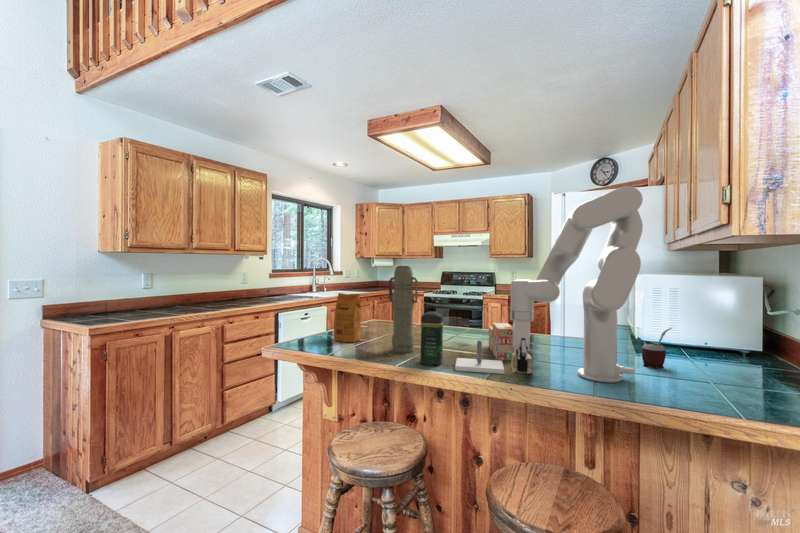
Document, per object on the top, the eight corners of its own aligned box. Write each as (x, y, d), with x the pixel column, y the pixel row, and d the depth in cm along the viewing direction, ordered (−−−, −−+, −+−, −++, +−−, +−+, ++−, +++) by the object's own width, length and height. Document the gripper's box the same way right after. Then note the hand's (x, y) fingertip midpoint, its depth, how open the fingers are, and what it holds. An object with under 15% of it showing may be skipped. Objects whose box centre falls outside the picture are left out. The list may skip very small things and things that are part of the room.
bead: (529, 368, 128) (529, 354, 128) (531, 373, 122) (531, 358, 122) (511, 367, 129) (511, 353, 129) (512, 372, 124) (512, 357, 124)
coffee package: (340, 337, 178) (341, 291, 178) (364, 339, 174) (364, 292, 174) (329, 341, 169) (330, 293, 169) (354, 343, 164) (354, 294, 164)
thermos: (389, 347, 158) (390, 265, 157) (417, 348, 156) (418, 266, 156) (386, 352, 149) (387, 265, 148) (416, 353, 148) (417, 266, 147)
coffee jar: (440, 366, 129) (441, 314, 129) (418, 365, 131) (419, 313, 131) (444, 359, 139) (444, 310, 138) (423, 358, 141) (423, 309, 140)
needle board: (502, 364, 133) (502, 338, 132) (504, 373, 122) (504, 345, 122) (457, 361, 136) (457, 336, 136) (455, 370, 125) (455, 342, 125)
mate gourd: (638, 363, 136) (639, 322, 136) (664, 365, 133) (664, 324, 133) (645, 369, 129) (646, 326, 129) (672, 371, 126) (673, 327, 126)
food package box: (488, 347, 160) (488, 319, 160) (503, 347, 160) (503, 319, 160) (497, 360, 139) (497, 327, 139) (514, 361, 138) (514, 328, 138)
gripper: (508, 312, 135) (507, 361, 135) (512, 319, 118) (511, 375, 118) (530, 312, 133) (529, 362, 134) (537, 320, 116) (536, 377, 117)
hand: (521, 368), depth 126 cm, fingers closed on bead, 5 cm apart
